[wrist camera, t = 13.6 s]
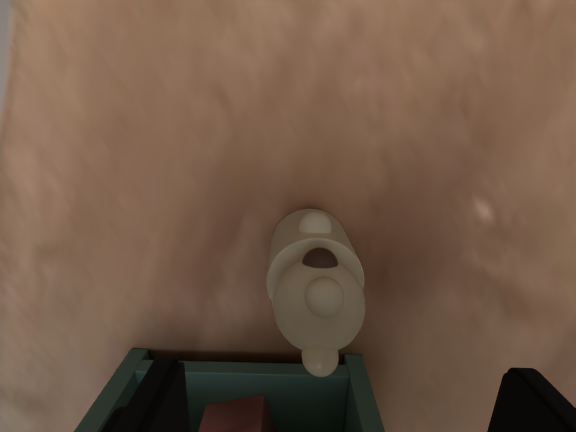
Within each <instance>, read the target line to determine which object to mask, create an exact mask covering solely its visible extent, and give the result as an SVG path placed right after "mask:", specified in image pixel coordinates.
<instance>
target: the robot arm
mask: <svg viewBox="0 0 576 432" xmlns="http://www.w3.org/2000/svg"><path fill="white" fill-rule="evenodd" d="M101 432H190V425H189V413H188V401H187V389H186V377H185V366H184V362H179V359H178V357H176V356H157V357H156V358H155V359H154V360H153V362H152V364H151V366H150V367H149V369H148V371H147V372H146V374H145V376H144V377H143V379H142V381H141V382H140V384H139V386H138V387H137V389H136V391H135V392H134V394H133V396H132V398H131V399H130V401H129V403H128V404H127V406H121V407H118V408H117V409H116V410H115V411H114V412H113V414H112V415H111V416H110V418H109V419H108V421H107V423H106V424H105V426H104V427H103V429H102V431H101ZM487 432H576V408H575V407H574V406H573V405H572V404H571V403H570V402H569V401H568V400H567V399H566V398H565V397H564V396H563V395H562V394H561V393H560V392H559V391H558V390H557V389H556V388H555V387H554V386H553V385H552V384H551V383H550V382H549V381H548V380H547V379H546V378H545V377H544V376H543V375H542V374H540V373H539V372H538V371H537V370H535V369H533V368H510V369H509V370H508V372H507V373H505V374H504V375H503V378H502V381H501V385H500V388H499V392H498V396H497V399H496V403H495V406H494V410H493V413H492V417H491V421H490V424H489V428H488V431H487Z"/></svg>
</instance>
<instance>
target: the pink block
mask: <svg viewBox="0 0 576 432" xmlns="http://www.w3.org/2000/svg"><path fill="white" fill-rule="evenodd" d="M198 432H277V431H276V428H275V425H274V422H273V419H272V416H271V413H270V410H269V407H268V404H267V401H266V398H265V395H258V396H252V397H247V398H242V399H236V400H231V401H225V402H220V403H214V404H209V405H206V407H205V411H204V414H203V417H202V421H201V424H200V428H199V431H198Z"/></svg>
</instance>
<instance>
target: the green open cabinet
mask: <svg viewBox="0 0 576 432" xmlns="http://www.w3.org/2000/svg"><path fill="white" fill-rule="evenodd" d="M152 362H153V360H149V353H148V349H131V350H130V351H129V353H128V354H127V356H126V357H125V359H124V360H123V361H122V363H121V364H120V366H119V367H118V369H117V370H116V372H115V373H114V374H113V376H112V377H111V379H110V380H109V382H108V383H107V385H106V386H105V387H104V389H103V390H102V392H101V393H100V395H99V396H98V398H97V399H96V401H95V402H94V403H93V405H92V406H91V408H90V409H89V411H88V412H87V414H86V415H85V416H84V418H83V419H82V421H81V422H80V424H79V425H78V427H77V428H76V430H75V431H74V432H101V431H102V429H103V427H104V426H105V424H106V423H107V421H108V419H109V418H110V416H111V415H112V414H113V412H114V411H115V410H116V409H117V408H118V407H121V406H127V404H128V403H129V401H130V399H131V398H132V396H133V394H134V392H135V391H136V389H137V387H138V386H139V384H140V382H141V381H142V379H143V377H144V376H145V374H146V372H147V371H148V369H149V367H150V366H151V364H152ZM179 362H184V366H185V377H186V389H187V401H188V413H189V425H190V432H198V431H199V428H200V424H201V421H202V417H203V414H204V411H205V407H206V405H209V404H214V403H220V402H225V401H231V400H236V399H242V398H247V397H252V396H258V395H265V398H266V401H267V404H268V407H269V410H270V413H271V416H272V419H273V422H274V425H275V428H276V431H277V432H385V431H384V427H383V424H382V421H381V417H380V414H379V411H378V408H377V404H376V401H375V398H374V395H373V391H372V388H371V385H370V381H369V378H368V375H367V372H366V368H365V365H364V362H363V359H362V355H360V354H345V355H344V364H343V365H337V367H336V369H335V370H334V371H333V372H332V373H331V374H330V375H328V376H325V377H317V376H314V375H312V374H311V373H309V372H308V371H307V370H306V368H305V367H304V365H303V364H286V363H246V362H206V361H179Z"/></svg>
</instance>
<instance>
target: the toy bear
mask: <svg viewBox="0 0 576 432" xmlns="http://www.w3.org/2000/svg"><path fill="white" fill-rule="evenodd" d="M364 280H365V278H364V272H363V268H362V265H361V263H360V261H359V259H358V257H357V255H356V253H355V251H354V249H353V247H352V245H351V243H350V241H349V239H348V237H347V235H346V233H345V231H344V229H343V227H342V225H341V224H340V222H339V221H338V220H337V219H336V218H335V217H334V216H332V215H331V214H329V213H327V212H325V211H322V210H319V209H311V208H310V209H301V210H297V211H295V212H292V213H290V214H289V215H287V216H286V217H285V218H283V219H282V220H281V221H280V222H279V224H278V225H277V227H276V228H275V230H274V233H273V236H272V242H271V249H270V255H269V262H268V269H267V276H266V288H267V293H268V296H269V298H270V300H271V302H272V304H273V314H274V318H275V321H276V324H277V326H278V328H279V330H280V332H281V333H282V335H283V336H284V337H285V338H286V339H287V340H288V341H289V342H290V343H291V344H292V345H294V346H295V347H297V348H298V349H300V350H302V362H303V365H304V367H305V368H306V370H307V371H308V372H309V373H311V374H312V375H314V376H317V377H325V376H328V375H330V374H331V373H332V372H333V371H334V370H335V369H336V367H337V365H338V360H339V355H338V350H340V349H342V348H344V347H345V346H347V345H348V344H349V343H350V342H351V341H352V340H353V339H354V338H355V337H356V336H357V334H358V333H359V331H360V329H361V327H362V324H363V321H364V317H365V309H366V306H365V297H364V293H363V289H364Z"/></svg>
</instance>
